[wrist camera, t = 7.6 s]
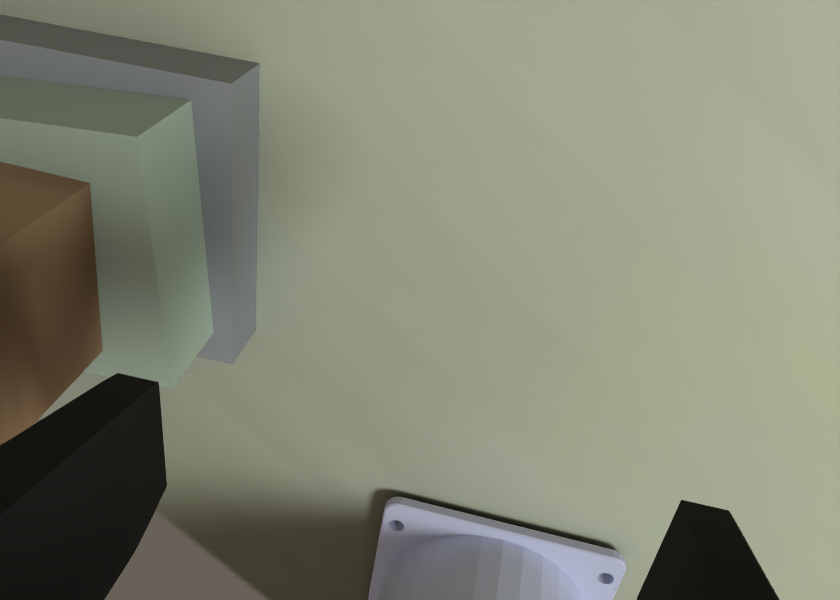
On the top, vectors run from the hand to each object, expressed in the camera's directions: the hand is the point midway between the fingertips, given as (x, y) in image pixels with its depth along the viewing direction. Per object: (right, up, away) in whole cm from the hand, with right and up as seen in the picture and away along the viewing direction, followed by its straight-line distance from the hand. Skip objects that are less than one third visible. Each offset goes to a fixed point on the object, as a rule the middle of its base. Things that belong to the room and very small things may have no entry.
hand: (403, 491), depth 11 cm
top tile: (-8, +5, +9) cm, 13 cm away
